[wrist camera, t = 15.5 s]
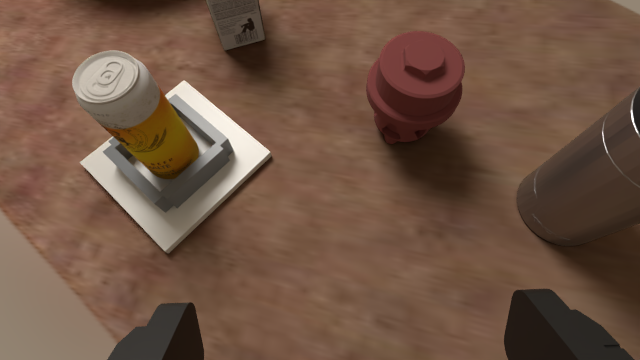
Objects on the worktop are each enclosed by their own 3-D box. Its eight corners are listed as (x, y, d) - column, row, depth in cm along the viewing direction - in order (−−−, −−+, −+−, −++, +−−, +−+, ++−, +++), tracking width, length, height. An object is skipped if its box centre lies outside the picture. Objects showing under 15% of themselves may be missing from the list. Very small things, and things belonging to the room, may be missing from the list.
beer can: (140, 172, 43) (51, 94, 29) (165, 130, 45) (94, 39, 31) (186, 188, 42) (117, 115, 28) (210, 144, 44) (156, 57, 30)
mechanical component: (453, 113, 47) (418, 173, 44) (384, 79, 49) (346, 134, 46) (494, 41, 36) (451, 116, 32) (402, 2, 38) (353, 68, 34)
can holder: (186, 85, 49) (175, 64, 45) (271, 155, 45) (266, 139, 41) (84, 165, 44) (63, 150, 41) (168, 253, 40) (152, 245, 36)
